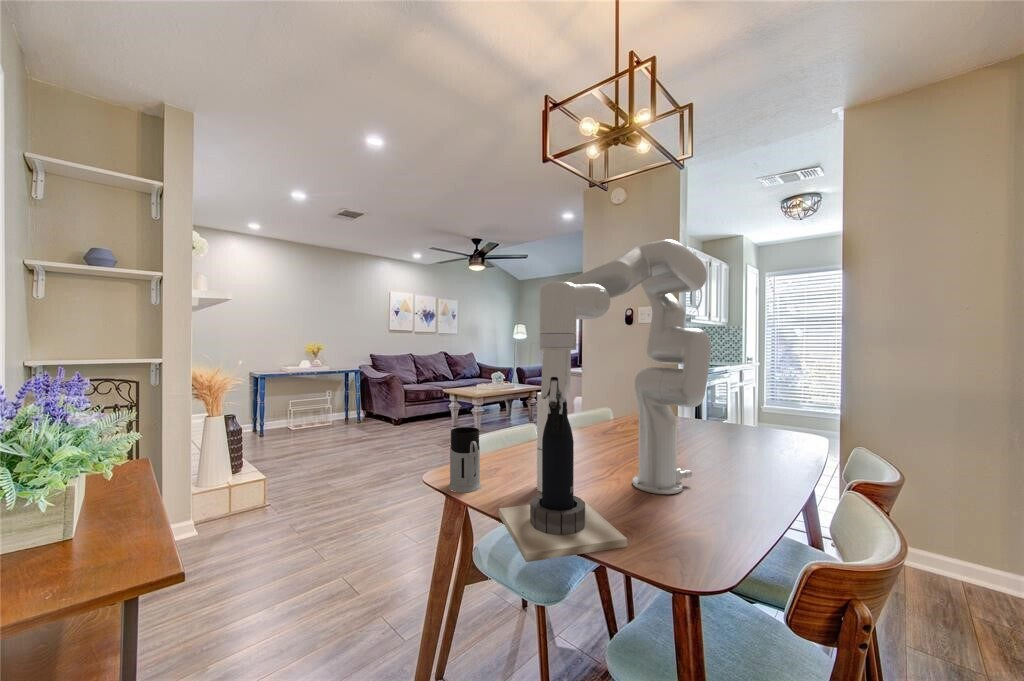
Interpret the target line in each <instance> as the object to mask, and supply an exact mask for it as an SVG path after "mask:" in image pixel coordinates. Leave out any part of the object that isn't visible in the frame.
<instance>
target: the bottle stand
mask: <svg viewBox="0 0 1024 681" xmlns="http://www.w3.org/2000/svg"><path fill="white" fill-rule="evenodd" d="M498 516H499V519H500V520H501V522H502V523H503V525H504V526H505V529H506V530H507V532H508V533H509V535H510V537H511V538H512V540H513V542H514V544H515V546H516V548H517V549H518V552H520V554H521V556H522V558H523V559H524V561H525V563H530V562H536V561H543V560H550V559H556V558H562V557H568V556H569V557H570V556H576V555H581V554H588V553H595V552H602V551H607V550H614V549H615V550H616V549H621V548H626V547H628V538H627V537H626V536H625V535H623V533H621V532H620V531H619V530H618V529H616V528H615V527H614V526H613V525H612V524H611V523H610V522H609V521H607V520H606V519H605V518H604V516H602V515H600V514H599V512H597V511H596V510H595V509H594V508H592V507H591V506H590V505H589V504H588V503H586V502H585V501H584V500H583V499H582V498H581V497H579V496H576V495H573V509H571V510H565V511H554V510H548V509H546V508H543V507H542V493H541V494H540V493H539V494H538V495H535V496H533V498H532V499H531V500H530V502H529V504H526V505H525V504H524V505H518V506H516V505H515V506H509V507H507V506H506V507H499V508H498Z"/></svg>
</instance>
